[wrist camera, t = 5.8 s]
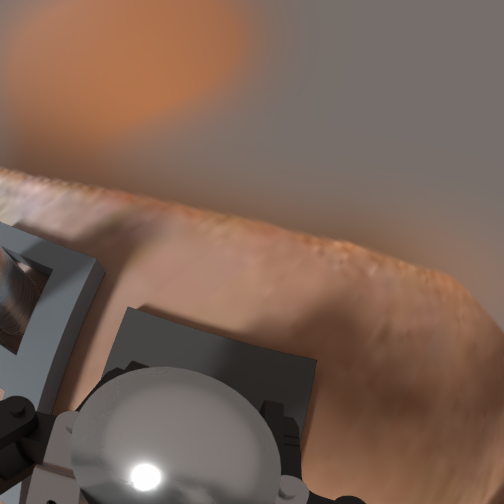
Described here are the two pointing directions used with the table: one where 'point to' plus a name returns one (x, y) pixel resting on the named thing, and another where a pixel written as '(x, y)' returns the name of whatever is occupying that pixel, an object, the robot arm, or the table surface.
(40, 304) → the grey slotted holder
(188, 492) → the cylinder
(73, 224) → the table surface
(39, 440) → the robot arm
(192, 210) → the table surface
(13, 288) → the cylinder
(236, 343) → the mat
